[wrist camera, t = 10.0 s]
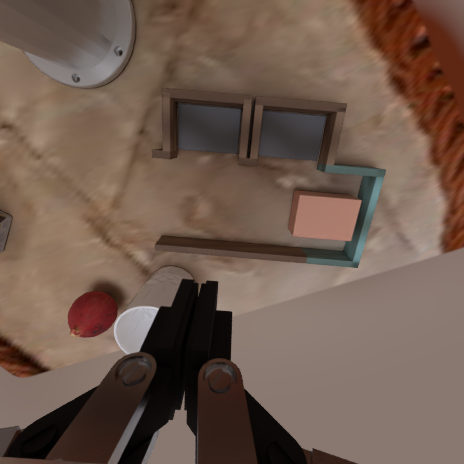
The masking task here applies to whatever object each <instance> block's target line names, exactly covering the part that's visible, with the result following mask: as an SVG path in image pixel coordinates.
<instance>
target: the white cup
mask: <svg viewBox="0 0 464 464" xmlns="http://www.w3.org/2000/svg"><path fill="white" fill-rule="evenodd" d="M182 279H193V278H192V276H191V275H190V274H189V273H188V272H186V271H185V270H184V269H182V268H178V267H174V266H168V267H163V268H160V269H159V270H158V271H156V272H155V273H154V274H153V275H152V276H151V278H150V279H149V280H148V281H147V282H146V283H145V284H144V285H143V287H142V288H141V289H140V290H139V292H138V293H137V294H136V295H135V297H134V298H133V299H132V300H131V302H130V303H129V304H128V306H127V307H126V308H125V310H124V311H123V312H122V313H121V315H120V316H119V317H118V319H117V320H116V322H115V325H114V336H115V339H116V342H117V343H118V345H119V346H120V348H121V349H122V350H123V351H124V352H125V353H126V354H131V353H136V352H139V351H140V348H141V346H142V344H143V342H144V340H145V338H146V335H147V333H148V331H149V329H150V327H151V325H152V323H153V320H154V318H155V316H156V314H157V312H158V310H159V308H160V307H161V306H169V307H171V305H172V303H173V300H174V298H175V295H176V293H177V290H178V288H179V285H180V283H181V280H182ZM194 283H195V281H194Z"/></svg>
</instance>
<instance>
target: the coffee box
mask: <svg viewBox="0 0 464 464" xmlns="http://www.w3.org/2000/svg"><path fill="white" fill-rule="evenodd" d="M11 220H12V217H11V216H10V215H8V214H6V213H4V212H2V211H0V253H1V252H3V250H4V246H5V243H6V239H7V235H8V232H9V228H10V224H11Z"/></svg>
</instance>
